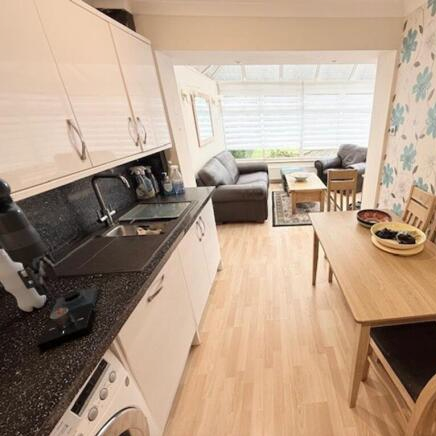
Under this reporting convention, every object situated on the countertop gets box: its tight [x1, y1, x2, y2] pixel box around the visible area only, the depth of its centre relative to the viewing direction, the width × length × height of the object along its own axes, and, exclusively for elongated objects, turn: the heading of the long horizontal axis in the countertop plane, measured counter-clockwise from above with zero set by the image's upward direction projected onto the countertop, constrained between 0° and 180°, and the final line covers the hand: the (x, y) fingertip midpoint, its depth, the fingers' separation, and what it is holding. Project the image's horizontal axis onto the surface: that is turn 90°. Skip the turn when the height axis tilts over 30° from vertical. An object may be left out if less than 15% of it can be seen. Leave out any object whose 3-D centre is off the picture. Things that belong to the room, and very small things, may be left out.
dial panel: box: [36, 307, 96, 352], centre depth 78 cm, size 12×10×3 cm
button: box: [63, 289, 79, 301], centre depth 88 cm, size 4×4×2 cm
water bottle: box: [0, 248, 47, 313], centre depth 85 cm, size 7×7×25 cm
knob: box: [49, 308, 75, 330], centre depth 76 cm, size 4×4×5 cm
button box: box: [49, 286, 99, 318], centre depth 89 cm, size 12×10×4 cm
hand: (50, 285), depth 75 cm, fingers open, 8 cm apart
